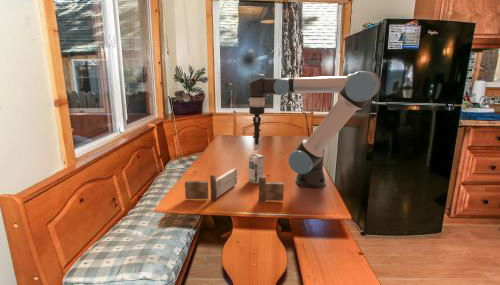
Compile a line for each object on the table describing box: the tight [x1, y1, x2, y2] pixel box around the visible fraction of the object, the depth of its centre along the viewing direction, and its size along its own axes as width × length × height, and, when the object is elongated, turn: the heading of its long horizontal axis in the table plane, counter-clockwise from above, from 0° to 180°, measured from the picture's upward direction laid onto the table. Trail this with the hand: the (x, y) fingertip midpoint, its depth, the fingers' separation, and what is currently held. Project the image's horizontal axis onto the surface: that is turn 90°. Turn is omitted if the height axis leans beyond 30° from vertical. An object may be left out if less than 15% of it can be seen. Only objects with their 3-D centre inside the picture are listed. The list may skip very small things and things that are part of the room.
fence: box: [184, 174, 285, 204], centre depth 131 cm, size 44×3×12 cm, turn 88°
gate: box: [216, 167, 238, 198], centre depth 141 cm, size 18×2×8 cm, turn 153°
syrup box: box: [248, 153, 265, 185], centre depth 153 cm, size 6×6×14 cm
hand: (256, 147), depth 150 cm, fingers open, 13 cm apart
